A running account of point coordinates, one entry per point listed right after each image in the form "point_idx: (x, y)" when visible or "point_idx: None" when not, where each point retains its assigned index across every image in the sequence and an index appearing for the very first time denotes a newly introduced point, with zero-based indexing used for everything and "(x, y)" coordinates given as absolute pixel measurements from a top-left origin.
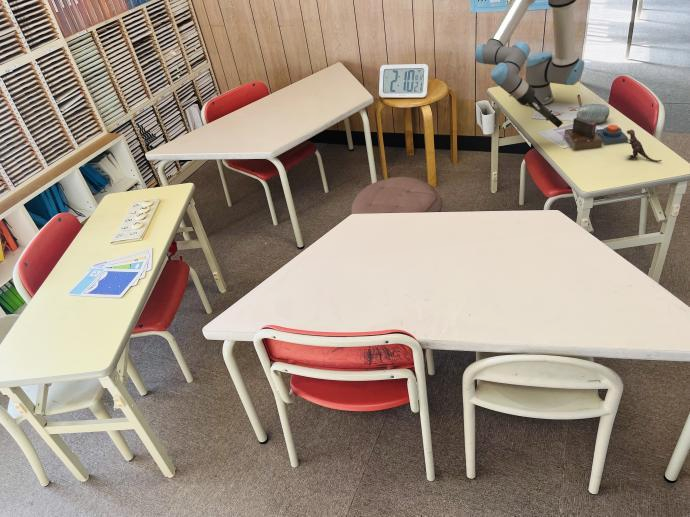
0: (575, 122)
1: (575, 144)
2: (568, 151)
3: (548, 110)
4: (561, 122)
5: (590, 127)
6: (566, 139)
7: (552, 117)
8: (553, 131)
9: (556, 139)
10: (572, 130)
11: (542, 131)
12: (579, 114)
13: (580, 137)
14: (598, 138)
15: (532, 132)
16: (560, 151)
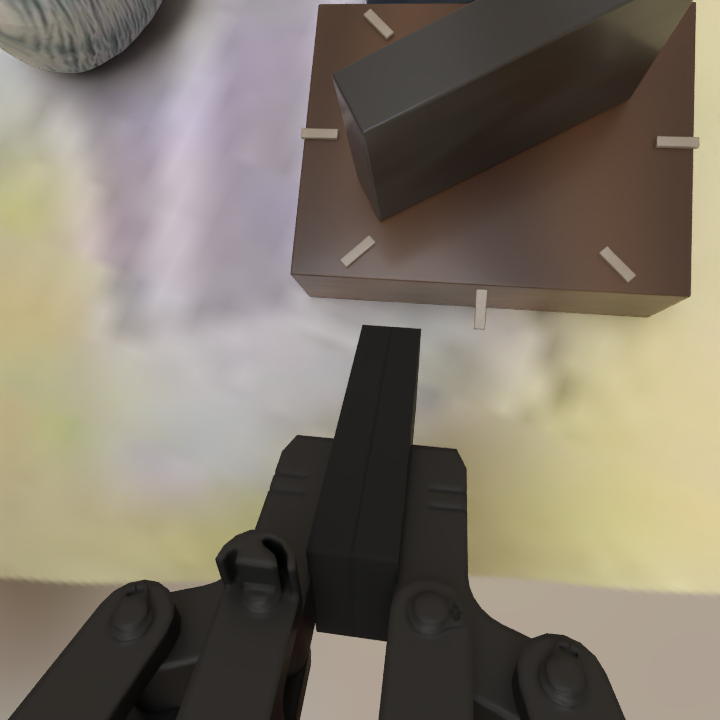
0: (405, 141)
1: (685, 296)
2: (639, 374)
3: (275, 692)
4: (417, 354)
5: (662, 10)
6: (383, 299)
7: (467, 585)
8: (154, 346)
9: (333, 383)
10: (378, 214)
11: (109, 444)
12: (53, 15)
13: (555, 190)
14: None
15: (88, 545)
16: (613, 448)
